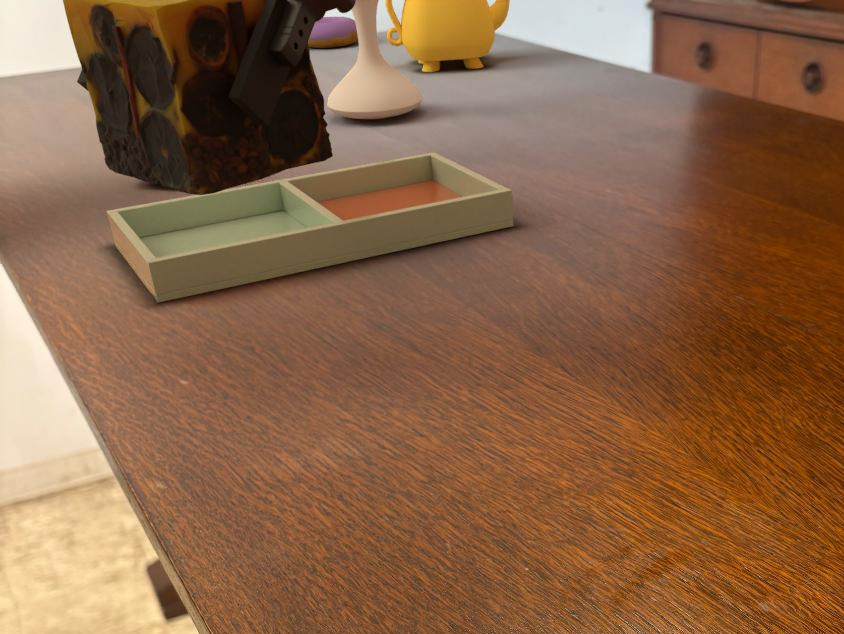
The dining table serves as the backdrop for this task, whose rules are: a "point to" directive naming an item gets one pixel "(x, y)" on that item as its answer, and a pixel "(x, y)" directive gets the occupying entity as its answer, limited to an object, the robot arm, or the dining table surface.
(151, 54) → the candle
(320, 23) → the donut
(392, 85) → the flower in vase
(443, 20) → the teapot
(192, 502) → the dining table surface
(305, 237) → the tray
